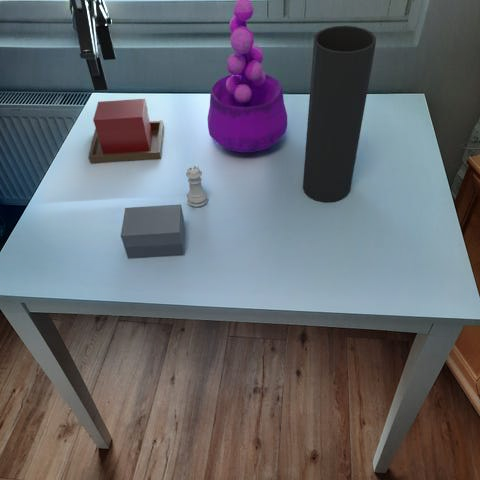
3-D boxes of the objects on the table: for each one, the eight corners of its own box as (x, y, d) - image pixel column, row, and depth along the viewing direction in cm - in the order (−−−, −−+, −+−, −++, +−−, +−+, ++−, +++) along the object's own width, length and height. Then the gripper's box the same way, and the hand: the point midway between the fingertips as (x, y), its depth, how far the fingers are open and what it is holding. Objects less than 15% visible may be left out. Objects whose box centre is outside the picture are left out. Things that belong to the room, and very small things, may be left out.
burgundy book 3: (103, 155, 112) (100, 144, 109) (108, 136, 116) (104, 125, 114) (150, 152, 111) (147, 141, 109) (152, 134, 116) (149, 122, 114)
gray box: (128, 258, 92) (120, 235, 87) (131, 230, 96) (124, 207, 92) (184, 255, 92) (179, 232, 87) (185, 227, 96) (181, 204, 92)
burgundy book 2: (100, 144, 109) (96, 132, 107) (104, 125, 114) (101, 113, 112) (147, 141, 109) (144, 129, 107) (149, 122, 114) (147, 110, 111)
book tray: (91, 166, 111) (88, 156, 108) (99, 134, 119) (96, 124, 117) (161, 162, 110) (159, 152, 108) (164, 130, 119) (163, 120, 116)
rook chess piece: (211, 197, 102) (207, 165, 95) (203, 210, 99) (198, 178, 93) (192, 193, 103) (187, 161, 97) (184, 205, 100) (178, 174, 94)
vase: (360, 191, 101) (389, 41, 77) (321, 208, 98) (339, 58, 74) (330, 167, 106) (349, 20, 82) (293, 183, 103) (301, 35, 79)
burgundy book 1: (96, 132, 107) (93, 120, 104) (101, 113, 112) (98, 101, 109) (145, 129, 107) (142, 117, 104) (147, 110, 111) (145, 98, 109)
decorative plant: (293, 157, 109) (301, 12, 85) (214, 167, 108) (200, 23, 84) (277, 115, 120) (280, -24, 97) (206, 124, 119) (190, -14, 95)
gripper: (84, -27, 75) (116, 102, 92) (105, -71, 91) (129, 46, 107) (38, -24, 75) (78, 104, 92) (66, -69, 91) (96, 48, 107)
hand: (105, 73), depth 100 cm, fingers open, 13 cm apart
